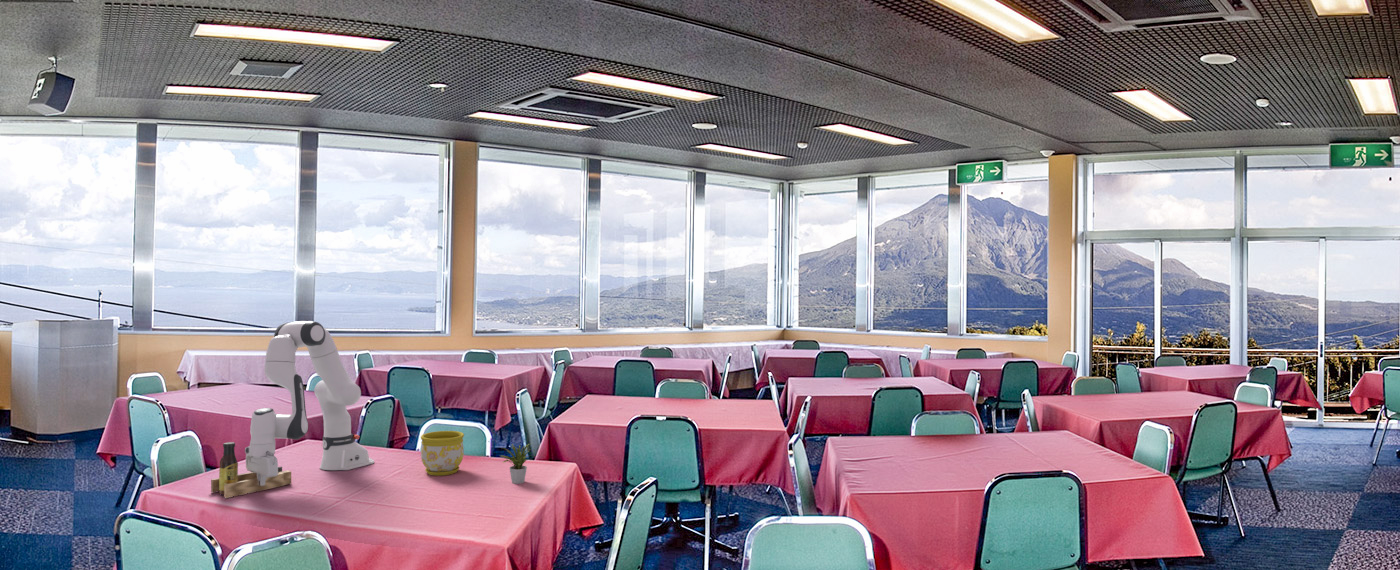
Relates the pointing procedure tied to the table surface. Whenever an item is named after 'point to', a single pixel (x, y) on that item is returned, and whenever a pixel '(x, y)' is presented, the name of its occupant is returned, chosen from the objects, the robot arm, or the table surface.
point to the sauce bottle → (228, 467)
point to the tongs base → (240, 478)
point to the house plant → (517, 464)
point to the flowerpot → (442, 452)
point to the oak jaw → (256, 484)
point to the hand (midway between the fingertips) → (261, 485)
